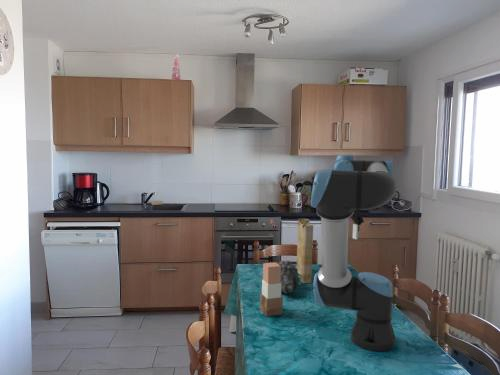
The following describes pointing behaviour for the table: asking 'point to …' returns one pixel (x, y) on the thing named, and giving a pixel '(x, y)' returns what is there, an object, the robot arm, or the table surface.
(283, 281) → the rock
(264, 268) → the terracotta block
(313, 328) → the table surface
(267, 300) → the walnut base cube
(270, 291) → the cream top cube
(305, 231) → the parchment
